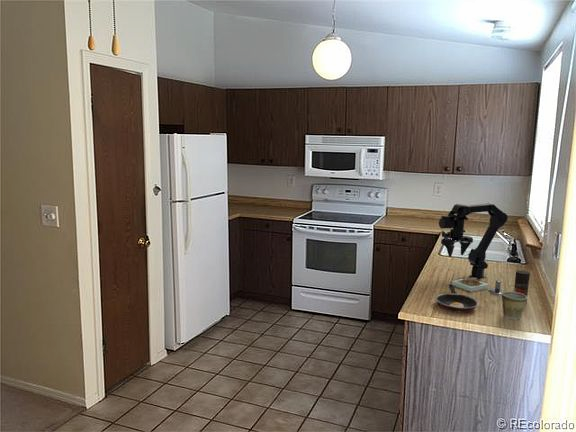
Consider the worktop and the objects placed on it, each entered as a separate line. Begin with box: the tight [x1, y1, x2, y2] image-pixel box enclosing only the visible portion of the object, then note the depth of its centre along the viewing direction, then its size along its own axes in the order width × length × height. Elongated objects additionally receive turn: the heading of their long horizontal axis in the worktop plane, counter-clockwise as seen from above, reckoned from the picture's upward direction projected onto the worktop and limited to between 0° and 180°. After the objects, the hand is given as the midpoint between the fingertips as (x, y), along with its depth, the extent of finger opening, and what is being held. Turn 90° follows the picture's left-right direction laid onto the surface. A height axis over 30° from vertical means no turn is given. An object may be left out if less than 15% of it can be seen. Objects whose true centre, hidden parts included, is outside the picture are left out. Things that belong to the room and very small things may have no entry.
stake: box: [488, 280, 506, 296], centre depth 239 cm, size 8×8×6 cm
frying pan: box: [435, 283, 480, 313], centre depth 225 cm, size 19×32×4 cm, turn 168°
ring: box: [461, 277, 480, 286], centre depth 246 cm, size 7×9×3 cm
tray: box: [451, 278, 489, 293], centre depth 246 cm, size 12×12×3 cm
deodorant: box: [513, 269, 531, 304], centre depth 225 cm, size 6×6×15 cm
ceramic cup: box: [501, 290, 528, 321], centre depth 208 cm, size 13×10×10 cm
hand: (455, 256), depth 258 cm, fingers open, 9 cm apart
